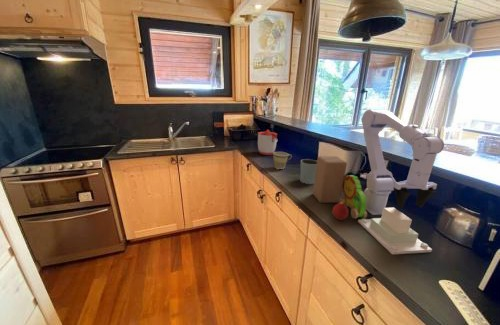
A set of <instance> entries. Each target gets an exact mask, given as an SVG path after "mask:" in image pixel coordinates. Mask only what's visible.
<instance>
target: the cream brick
mask: <svg viewBox="0 0 500 325" xmlns="http://www.w3.org/2000/svg"><path fill="white" fill-rule="evenodd" d="M380 216H381V217H380V218H381V220H382V221H383V222H384V223H385V224H387V225H388V226H389V227H390V228H392V229H393V230H394V231H395V232H397V233H408V231H409V228H411V225H412V221H413V220H412V218H410V217H409V216H407V215H406V214H404V213H403V212H401V211H400V210H398V209H396V208H395V207H385V208H384V209H383V212H382V215H380Z"/></svg>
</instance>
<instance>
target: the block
mask: <svg viewBox="0 0 500 325" xmlns="http://www.w3.org/2000/svg"><path fill="white" fill-rule="evenodd" d="M316 161H317V167H316V174H315V181H314V184H313V191H312V194H313V196H314V197H315V198H316V199H317V201H318V202H319V203H324V204H325V203H326V204H327V203H328V204H329V203H331V204H333V203H335V204H339V199H340V198H342V197H341V196H342V193H343V188H342V187H343V182H344V178H345V176H346V171H347V162H346V161H345V160H344V159H341V158H340V157H339V156H330V155H329V156H327V155H326V156H325V155H324V156H322V155H320V156H317V159H316Z"/></svg>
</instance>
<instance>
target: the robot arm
mask: <svg viewBox="0 0 500 325" xmlns="http://www.w3.org/2000/svg"><path fill="white" fill-rule="evenodd" d="M361 125H362V128H363V130H362V131H363V136H364V141H365V145H366V146H365V147H366V151H367V157H368V161H369V166H370V167H369V168H370V170H371V171H370V172H369V173H367V175H366V188H365V189H364V190H363V193H364V194H365V197H366V209H365V210H366V212H367V213H370V215H373V216H382V212H383V209H384V208H387V207H386V206H387V203H388V199H389V195H390V194H392V192H393V191H394V194H395V197H396V207H399V208H400V209H403V208H404V206H405V204H406V201H407V199H408V198H409V197H410V195H411V194H412V192H410V191H408V189H410V190H411V189H414V190H416V189H417V194H416V195H417V196H416V199H415V206H417V207H418V208H423V207H424V205H425V204H426V203H427V201H428V200H429V199H431V198H432V197H433V196H434V195H436V193H437V191H436V190H437V186H438V184H437V183H435V182H433V181H429V180H430V176H431V173H432V170H433V166H434V164H435V161H436V157H437V154H440V153H441V152H442V151H444V148H445V142H444V140H443V139H442V138H440V136H435V135H434V136H431V135H430V132H425V131H424V130H422V129H421V128H419V127H420V126H419V125H417V124H406V123H405V122H404V121H403V120H401V119H399V118H398V117H397V116H396V115H395V114H394V112H392V111H390V110H388V109H381V110H380V109H367V110H365V111H364V113H363V115H362V117H361ZM387 126H388V127H390V128H392V129H393V130H394V131H396V132H398V134H399V135H398V137H399V138H400V139H401V140H403V141H404V142H405V143H407V144H408V145H410V146H411V149H412V150H411V151H412V161H411V164H410V167H409V170H408V175H407V178H406V180H403V181H398V182H397V181H396V179H395V178H394V177H393V176H394V175H393V173H392V172H391V171H389V169H387V167H386V162H385V158H384V154H383V149H382V145H381V140H380V136H379V134H380V132H381V131H383V130H384V129H385V128H386V127H387Z"/></svg>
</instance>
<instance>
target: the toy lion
mask: <svg viewBox="0 0 500 325" xmlns="http://www.w3.org/2000/svg"><path fill="white" fill-rule="evenodd" d="M363 192H364V190H362V185H361V181H360V179H359V177H358V176H356V175H353V174H350V175H345V176H344V182H343V187H342V193H343V197H341V198H340V199H339V202H338V204H339V203H340V202H343V203H344V204H345V205H346V206H347V207H349V208H350V216H351V218H353V219H358V218H361V219H367V217H368V211H367V210H366V197H365V194H364V193H363Z"/></svg>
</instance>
